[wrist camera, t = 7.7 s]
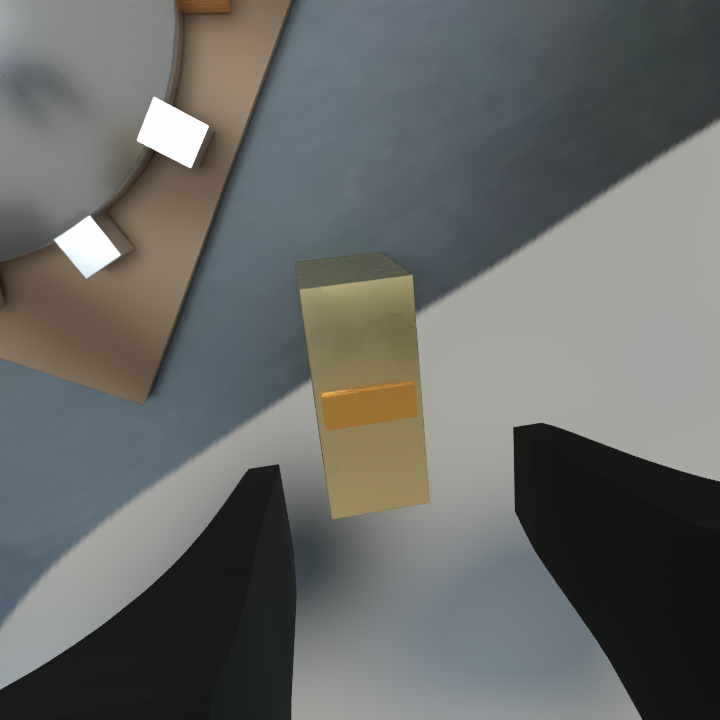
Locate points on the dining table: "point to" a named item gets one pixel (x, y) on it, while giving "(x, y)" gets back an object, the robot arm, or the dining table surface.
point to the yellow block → (365, 381)
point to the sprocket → (87, 117)
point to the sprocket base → (146, 226)
